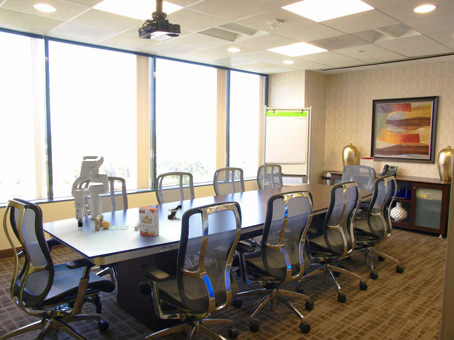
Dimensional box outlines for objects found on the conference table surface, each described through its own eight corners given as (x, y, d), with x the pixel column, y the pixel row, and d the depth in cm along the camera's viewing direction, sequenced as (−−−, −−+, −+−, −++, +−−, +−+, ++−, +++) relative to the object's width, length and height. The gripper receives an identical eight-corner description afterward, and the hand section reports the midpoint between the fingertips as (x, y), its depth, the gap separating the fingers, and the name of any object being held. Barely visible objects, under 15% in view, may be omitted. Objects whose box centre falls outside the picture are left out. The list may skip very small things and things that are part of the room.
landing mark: (112, 226, 308) (112, 225, 308) (128, 225, 309) (128, 225, 309) (109, 229, 295) (109, 229, 295) (126, 229, 296) (126, 229, 296)
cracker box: (139, 234, 280) (138, 207, 278) (144, 232, 286) (143, 206, 284) (154, 236, 274) (154, 209, 272) (159, 234, 280) (158, 207, 278)
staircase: (167, 219, 334) (167, 206, 333) (174, 217, 343) (174, 204, 342) (175, 220, 330) (175, 207, 329) (181, 218, 339) (181, 205, 338)
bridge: (95, 230, 293) (94, 218, 292) (99, 226, 308) (99, 214, 307) (99, 230, 293) (98, 218, 292) (103, 226, 308) (103, 214, 307)
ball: (102, 221, 302) (108, 219, 302) (105, 228, 303) (111, 225, 303) (100, 224, 296) (106, 221, 296) (103, 230, 297) (109, 228, 297)
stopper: (138, 224, 313) (138, 220, 313) (140, 224, 314) (140, 220, 313) (134, 230, 294) (134, 226, 293) (137, 230, 294) (137, 226, 293)
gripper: (81, 206, 290) (82, 229, 292) (86, 203, 305) (87, 224, 306) (71, 206, 289) (72, 229, 291) (77, 203, 304) (78, 224, 306)
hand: (80, 227), depth 299 cm, fingers closed
